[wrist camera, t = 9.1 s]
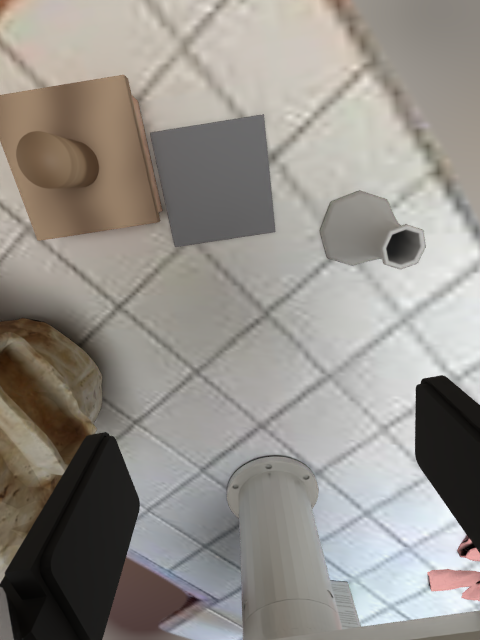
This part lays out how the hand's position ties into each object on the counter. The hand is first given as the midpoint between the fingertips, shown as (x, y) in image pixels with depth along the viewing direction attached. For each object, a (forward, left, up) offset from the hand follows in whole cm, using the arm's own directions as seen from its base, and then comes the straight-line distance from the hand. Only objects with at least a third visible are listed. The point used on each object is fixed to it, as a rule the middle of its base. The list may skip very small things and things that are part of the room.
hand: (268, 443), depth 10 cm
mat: (+7, +1, -26) cm, 27 cm away
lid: (+10, +11, -21) cm, 26 cm away
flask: (+1, -12, -26) cm, 29 cm away
